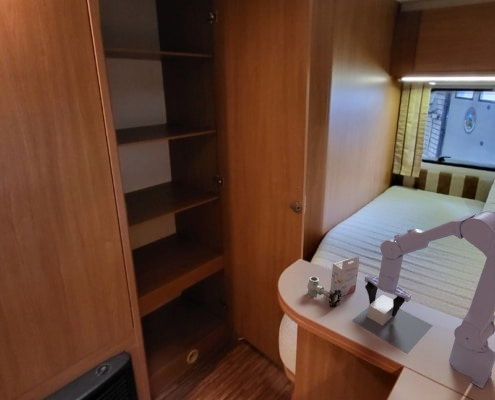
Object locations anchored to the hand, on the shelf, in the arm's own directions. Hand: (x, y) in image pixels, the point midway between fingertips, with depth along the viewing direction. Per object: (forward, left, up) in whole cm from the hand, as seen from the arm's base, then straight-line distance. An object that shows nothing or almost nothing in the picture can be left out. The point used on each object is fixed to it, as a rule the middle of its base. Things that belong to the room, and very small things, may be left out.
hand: (382, 309), depth 108 cm
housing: (0, 0, -2) cm, 2 cm away
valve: (+19, +7, -4) cm, 21 cm away
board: (-4, +1, -3) cm, 5 cm away
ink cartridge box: (+17, -3, -4) cm, 18 cm away
